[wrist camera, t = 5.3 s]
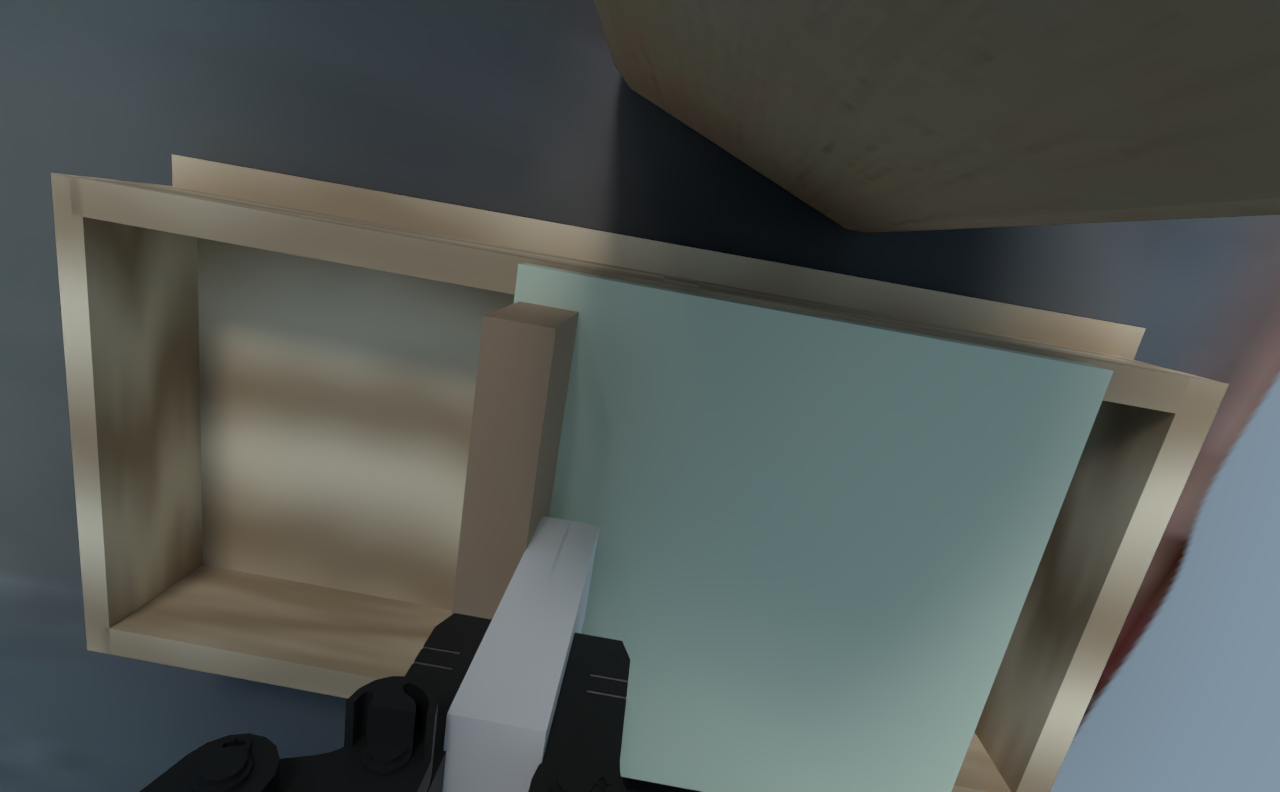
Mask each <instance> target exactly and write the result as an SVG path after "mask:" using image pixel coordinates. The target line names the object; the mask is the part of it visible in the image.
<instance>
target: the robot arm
mask: <svg viewBox="0 0 1280 792" xmlns="http://www.w3.org/2000/svg"><path fill="white" fill-rule="evenodd" d="M598 532H599V526H598V525H592V524H586V523H581V522H575V521H569V520H564V519H558V518H552V517H547V516H542V517H541V519H540V522H539V524H538V526H537V528H536V530H535V532H534V534H533V536H532V538H531V540H530V543H529V545H528V547H527V549H526V550H525V552H524V554H523V556H522V558H521V560H520V562H519V564H518V566H517V568H516V570H515V573H514V575H513V577H512V579H511V581H510V583H509V585H508V587H507V589H506V591H505V593H504V596H503V598H502V600H501V602H500V604H499V606H498V608H497V610H496V612H495V614H494V616H493V619H486V618H481V617H475V616H469V615H464V614H458V613H454V614H452V615H451V616H449V617H448V618H447V619H445V620H444V621H442V622H441V623H440V624H438V625H437V626H435V628H434V629H433V631H432V632H431V634H430V636H429V637H428V639H427V641H426V642H425V644H424V646H423V649H421V650H420V652H419V654H418V655H417V657H416V658H415V660H414V664H412V665H411V666H410V668H409V670H408V671H407V673H406V675H405V676H390V677H386V678H382V679H377V680H374V681H372V682H370V683H368V684H366V685H364V686H362V687H361V688H359V689H358V690H356V691H355V692H354V693H353V694H352V695H351V696H350V697H349V698H348V699H347V700H346V718H345V741H344V747H343V748H341V749H338V750H336V751H333V752H330V753H325V754H320V755H314V756H304V757H295V758H285V759H280V758H279V755H278V751H277V747H276V745H274V744H273V743H272V742H271V741H270V740H268V739H267V738H266V737H262V736H258V735H253V734H239V735H229V736H226V737H223V738H220V739H217V740H214V741H211V742H208V743H206V744H204V745H203V746H201V747H199V748H198V749H196V750H195V751H193V752H191V753H190V754H188V755H186V756H185V757H184V758H183V759H181V760H180V761H179V762H177V763H176V764H175V765H174V766H172V767H171V768H170V769H168V770H167V771H166V772H164V773H163V774H162V775H161V776H159V777H158V778H157V779H155V780H154V781H153V782H151V783H150V784H149V785H148V786H146V787H145V788H144V789H142V790H141V791H140V792H628V791H627V789H626V788H625V786H624V784H623V781H622V777H621V774H620V755H621V746H622V736H623V726H624V716H625V707H626V697H627V687H628V678H629V668H630V658H629V655H628V653H627V651H626V649H625V646H624V644H623V642H622V641H620V640H614V639H609V638H603V637H598V636H592V635H586V634H581V632H582V627H583V623H584V619H585V613H586V607H587V600H588V594H589V588H590V582H591V576H592V569H593V563H594V557H595V551H596V545H597V538H598Z"/></svg>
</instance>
